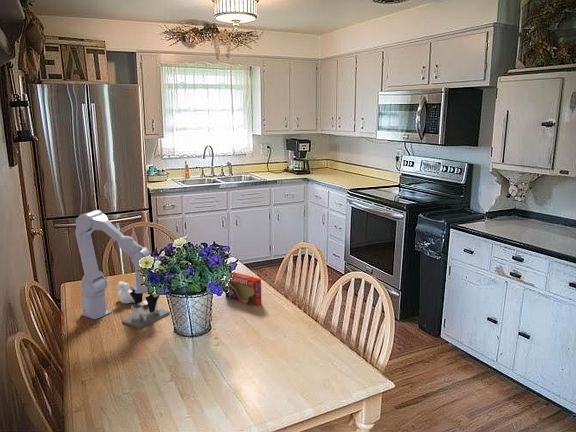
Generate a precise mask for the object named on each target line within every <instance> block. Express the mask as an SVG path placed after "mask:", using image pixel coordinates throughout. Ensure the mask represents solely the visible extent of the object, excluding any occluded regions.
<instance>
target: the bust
mask: <svg viewBox="0 0 576 432" xmlns="http://www.w3.org/2000/svg"><path fill="white" fill-rule="evenodd" d="M130 286H131V284H130V283H128V282H126V281H123V280H121V281H119V282H118V283H117V285H116V288H117V289H118V290H117V296H118V300H119V302H120V303H122V304H126V305H127V304H132V303H134V304H135V302H134V300H133V298H132V296H131V295H130V293H131V292H132V290H131V288H129V287H130Z"/></svg>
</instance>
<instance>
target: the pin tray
mask: <svg viewBox="0 0 576 432" xmlns="http://www.w3.org/2000/svg"><path fill="white" fill-rule="evenodd" d="M170 314H171V313H170V311H169V310H165V309H163V308H160V307H158V309H157V314H156V315H153V316H151V317H149V318H146V315H143V321H141V322H136V321H133V320H132V316H129V317H128V318H125V319H123V320H122V321H121V322H122V324H124V325H127V326H129V327H132V328H135V329H138V330H140V329H142V328H144V327H146V326H149V325H150V324H152V323H154V322H156V321H158V320H160V319H163V318H164V317H167V316H168V315H170Z"/></svg>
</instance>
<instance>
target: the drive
mask: <svg viewBox="0 0 576 432" xmlns="http://www.w3.org/2000/svg"><path fill="white" fill-rule="evenodd" d="M158 308H159V305H158V302H157V303H156V307H155V311H154V312H152V313H150V311H149V306H148V303H147V300H146V299H144V300H142V302H140V303H137V304H135V303H134V304H133V305H131V306H130V311H131V317H132V320H133V321H136V322H141V321H143V315H146V318H149V317H151V316H153V315H156V314H157V309H158Z"/></svg>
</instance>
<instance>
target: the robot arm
mask: <svg viewBox="0 0 576 432" xmlns="http://www.w3.org/2000/svg"><path fill="white" fill-rule="evenodd" d="M74 221H75V225H76V227H75V231H74V232H75V233H74V234H75V238H76V242H77V246H78V251H79V256H80V261H81V265H82V269H83V273H84V275H83V276H82V279H81V280H80V282H81V287H80V290H81V294H82V297H81V306H82V313H80V315H81V316H83V317H87V318H89V319H92V320H97V319H99V318H102V317H104V316H107V315H109V314H112V311H111V310H107V305H106V304H107V301H106V294H105V293H106V288H108V287H107V286H108V281H107V279H106V277H105V276H104V273H103V271H100V270H99V265H98V261H97V257H96V253H95V248H94V244H93V238H92V233H93V232H94V231H102V232H104V233H105V234H107V235H108V236H109V237H110V238H112V239H113V240H114V241H115V242H117V244H118V248H119V249H121V250H122V251H123V252H124V253H125V254H126V255H127V256H129V257H130V261H131V262H132V264H133V266H134V273H135V282H136V283H135V284H130V285H129V287H130V288H129V289H130V290H131V291H132V292H131V293H130V295H131V296H132V298H133V300H134V302H135V303H134V302H133V303H134V305H135V304H137V303H140V302H142V301H143V295H144V294H146V295H148V296H146V297H145V299H144V300H147V303H148V306H149V311H150V313H152V312H154V311H155V307H156V303H157V304H158V300H159V298H160V294H159V295H156V294H155V293H154V294H150V295H149V294H148V293H147V288H146V286H141V284H142V283H143V280H144V279H143V278H142V277H141V276H140V271H139V267H138V263H139V260H140V259H141V258H143V257H146V256H149V255H151V254H152V252H151V249H149V248H148V247H145V246H142V245H140V244H139V243H138V242H137V241H136V240H134V238H133V237H132V236H130V235H124V234H123V233H122V232H121V231H120V230H119V229H118V228H117V227H116V226H115V224H113V223H112V222H111V221H110V220H109V219H108V216H107V215H106V214H105V213H103V211H101V210H100V209H94V210H92V211H90V212H89V211H88V212H86V213H83V214H79V216H78V217H76V219H75V220H74Z"/></svg>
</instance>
